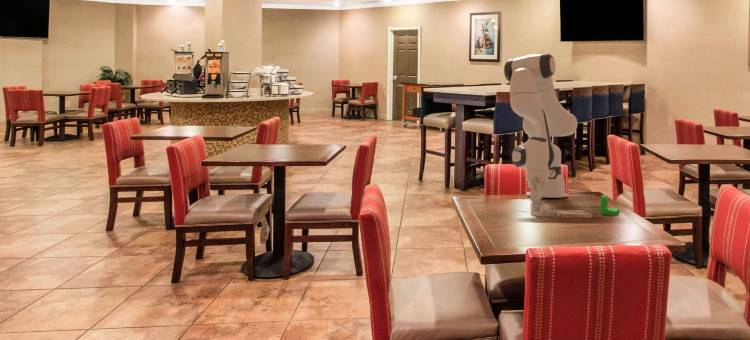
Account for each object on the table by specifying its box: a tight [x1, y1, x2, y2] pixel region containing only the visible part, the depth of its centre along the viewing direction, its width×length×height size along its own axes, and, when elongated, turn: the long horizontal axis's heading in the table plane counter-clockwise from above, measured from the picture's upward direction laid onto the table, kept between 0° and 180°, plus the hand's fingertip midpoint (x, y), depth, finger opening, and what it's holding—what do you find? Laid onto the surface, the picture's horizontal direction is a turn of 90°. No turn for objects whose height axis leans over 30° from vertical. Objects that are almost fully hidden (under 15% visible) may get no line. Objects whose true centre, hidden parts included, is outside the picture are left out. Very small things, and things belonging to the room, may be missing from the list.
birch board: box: [551, 209, 594, 219], centre depth 250 cm, size 14×12×2 cm
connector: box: [530, 201, 553, 218], centre depth 248 cm, size 12×4×5 cm, turn 14°
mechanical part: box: [599, 194, 620, 216], centre depth 258 cm, size 12×6×8 cm, turn 151°
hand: (536, 210), depth 251 cm, fingers open, 8 cm apart
